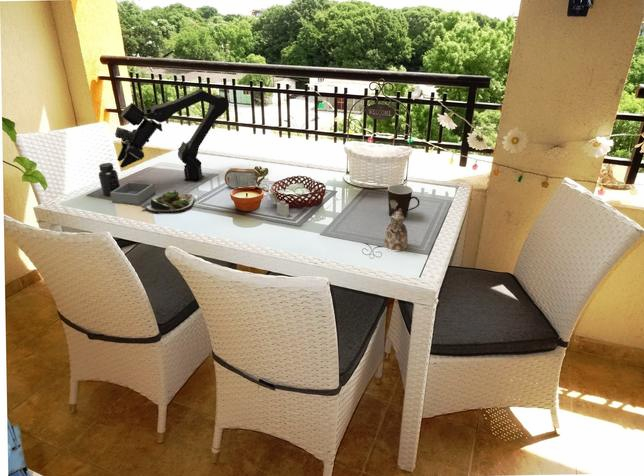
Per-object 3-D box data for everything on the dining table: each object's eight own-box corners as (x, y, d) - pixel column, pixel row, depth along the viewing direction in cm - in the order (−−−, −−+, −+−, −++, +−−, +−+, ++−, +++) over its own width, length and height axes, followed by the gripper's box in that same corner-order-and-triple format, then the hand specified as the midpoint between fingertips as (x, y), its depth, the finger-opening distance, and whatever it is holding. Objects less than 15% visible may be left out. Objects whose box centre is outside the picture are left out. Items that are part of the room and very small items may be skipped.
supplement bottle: (99, 194, 180) (92, 166, 175) (112, 189, 186) (105, 161, 180) (112, 197, 178) (105, 168, 172) (125, 191, 184) (119, 163, 178)
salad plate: (155, 194, 181) (153, 184, 179) (199, 194, 182) (198, 183, 180) (139, 215, 164) (137, 203, 162) (188, 214, 165) (187, 202, 163)
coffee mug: (381, 212, 165) (383, 186, 160) (401, 208, 168) (403, 183, 163) (398, 225, 155) (400, 198, 151) (419, 221, 158) (422, 194, 154)
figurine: (380, 247, 142) (382, 212, 136) (389, 238, 147) (392, 204, 141) (401, 253, 138) (405, 218, 133) (410, 244, 144) (414, 209, 138)
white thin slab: (289, 215, 163) (288, 194, 159) (286, 216, 162) (285, 196, 158) (272, 211, 166) (271, 191, 162) (270, 213, 165) (268, 192, 161)
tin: (262, 187, 187) (261, 168, 183) (260, 190, 184) (259, 171, 180) (227, 186, 188) (224, 167, 184) (224, 189, 186) (222, 169, 182)
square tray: (155, 193, 181) (153, 184, 180) (139, 204, 171) (137, 195, 170) (129, 191, 184) (127, 181, 182) (112, 202, 174) (109, 192, 172)
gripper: (122, 115, 180) (98, 145, 181) (129, 125, 166) (103, 158, 166) (146, 132, 187) (123, 161, 188) (154, 143, 173) (130, 175, 173)
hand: (119, 163), depth 179 cm, fingers open, 9 cm apart
